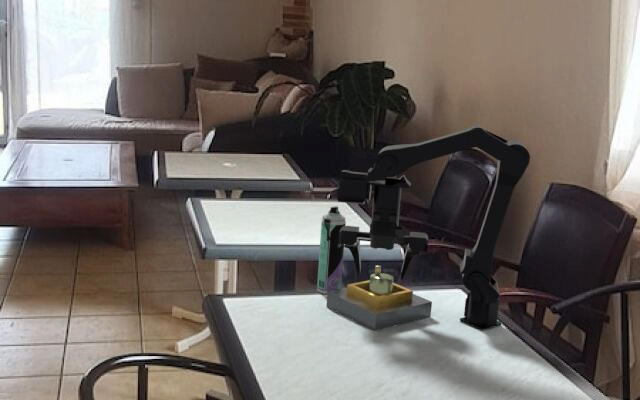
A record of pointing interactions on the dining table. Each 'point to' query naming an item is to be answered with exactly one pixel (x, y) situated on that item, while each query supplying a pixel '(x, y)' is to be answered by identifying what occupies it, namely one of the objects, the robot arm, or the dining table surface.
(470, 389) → the dining table surface
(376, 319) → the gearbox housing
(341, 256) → the spray can
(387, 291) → the spout can
